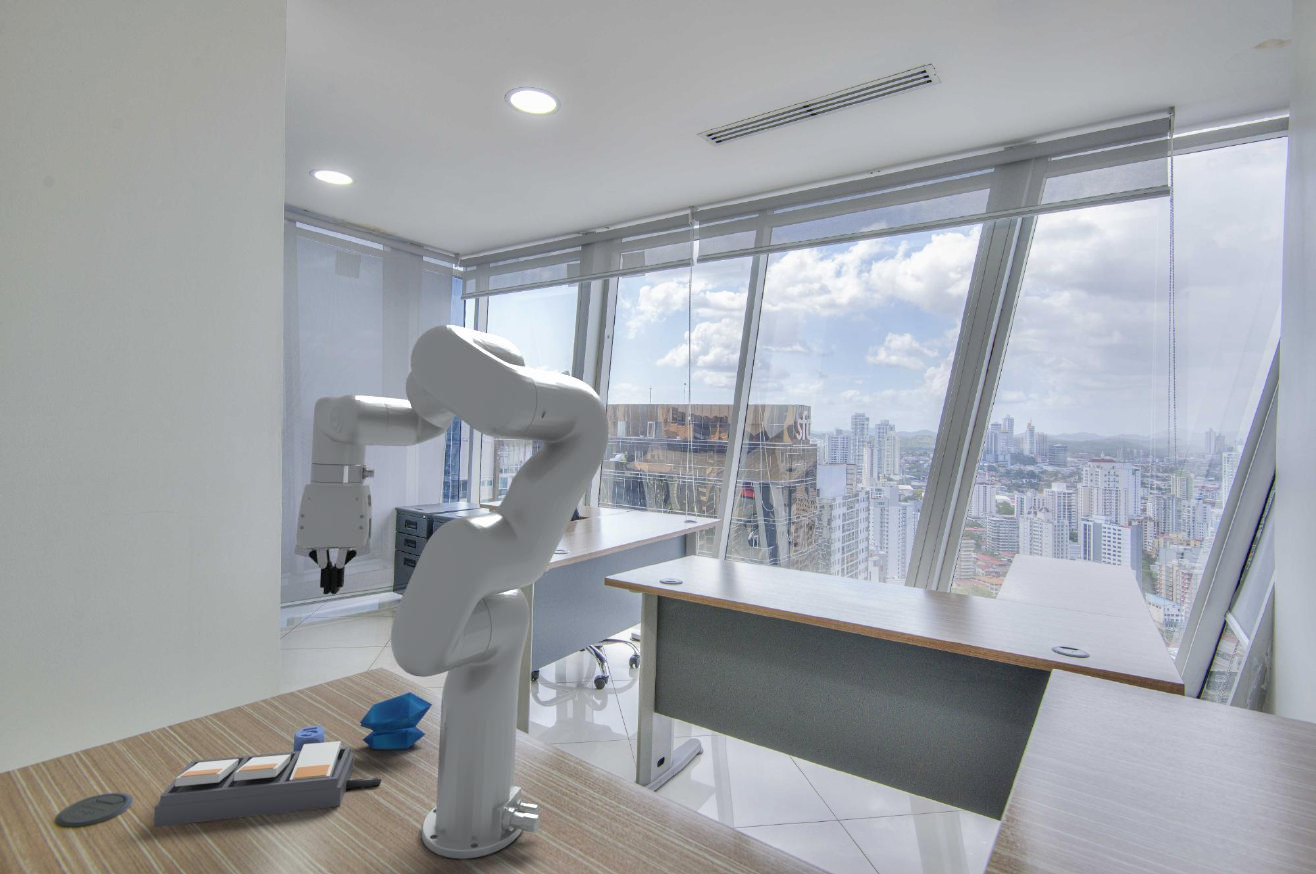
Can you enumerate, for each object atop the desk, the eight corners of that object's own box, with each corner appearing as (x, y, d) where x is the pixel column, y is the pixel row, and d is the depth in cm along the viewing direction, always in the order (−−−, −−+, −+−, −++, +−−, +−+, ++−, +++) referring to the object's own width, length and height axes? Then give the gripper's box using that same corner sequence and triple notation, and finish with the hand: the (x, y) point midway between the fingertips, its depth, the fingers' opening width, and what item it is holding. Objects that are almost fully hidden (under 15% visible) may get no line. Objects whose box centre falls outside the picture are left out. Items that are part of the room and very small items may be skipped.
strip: (385, 768, 92) (386, 743, 92) (376, 802, 84) (377, 774, 84) (186, 787, 85) (188, 760, 85) (153, 826, 76) (155, 796, 77)
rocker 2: (340, 748, 90) (340, 740, 89) (329, 783, 83) (329, 775, 83) (304, 751, 88) (303, 743, 88) (289, 787, 82) (289, 779, 82)
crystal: (360, 695, 102) (434, 677, 104) (370, 746, 102) (444, 727, 104) (345, 715, 94) (425, 695, 96) (356, 770, 94) (436, 749, 97)
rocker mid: (289, 763, 88) (291, 753, 88) (275, 778, 81) (276, 767, 81) (251, 766, 86) (252, 756, 87) (233, 782, 80) (234, 771, 80)
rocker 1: (237, 768, 86) (238, 757, 86) (218, 783, 79) (219, 772, 80) (197, 771, 85) (198, 761, 85) (174, 788, 78) (176, 776, 78)
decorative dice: (323, 749, 97) (324, 724, 97) (322, 761, 94) (324, 735, 94) (294, 754, 95) (295, 728, 95) (292, 766, 92) (293, 739, 92)
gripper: (392, 475, 103) (386, 585, 102) (291, 473, 98) (285, 587, 98) (385, 478, 95) (379, 596, 95) (276, 475, 91) (269, 599, 91)
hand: (331, 591), depth 97 cm, fingers closed
